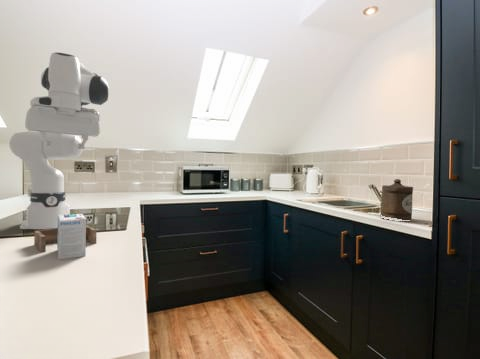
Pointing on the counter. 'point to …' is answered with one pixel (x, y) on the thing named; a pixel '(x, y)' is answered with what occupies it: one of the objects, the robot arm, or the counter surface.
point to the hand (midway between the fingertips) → (65, 148)
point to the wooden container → (397, 201)
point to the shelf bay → (51, 237)
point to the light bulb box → (71, 236)
